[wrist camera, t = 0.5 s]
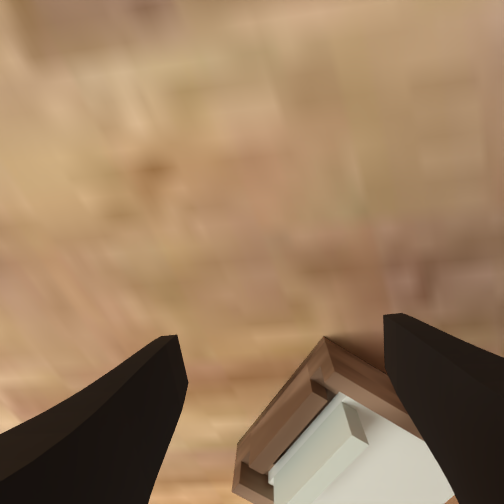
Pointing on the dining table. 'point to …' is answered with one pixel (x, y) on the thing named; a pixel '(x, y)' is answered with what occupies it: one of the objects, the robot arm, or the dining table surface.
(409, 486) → the cover plate
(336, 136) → the dining table surface
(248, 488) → the groove box
